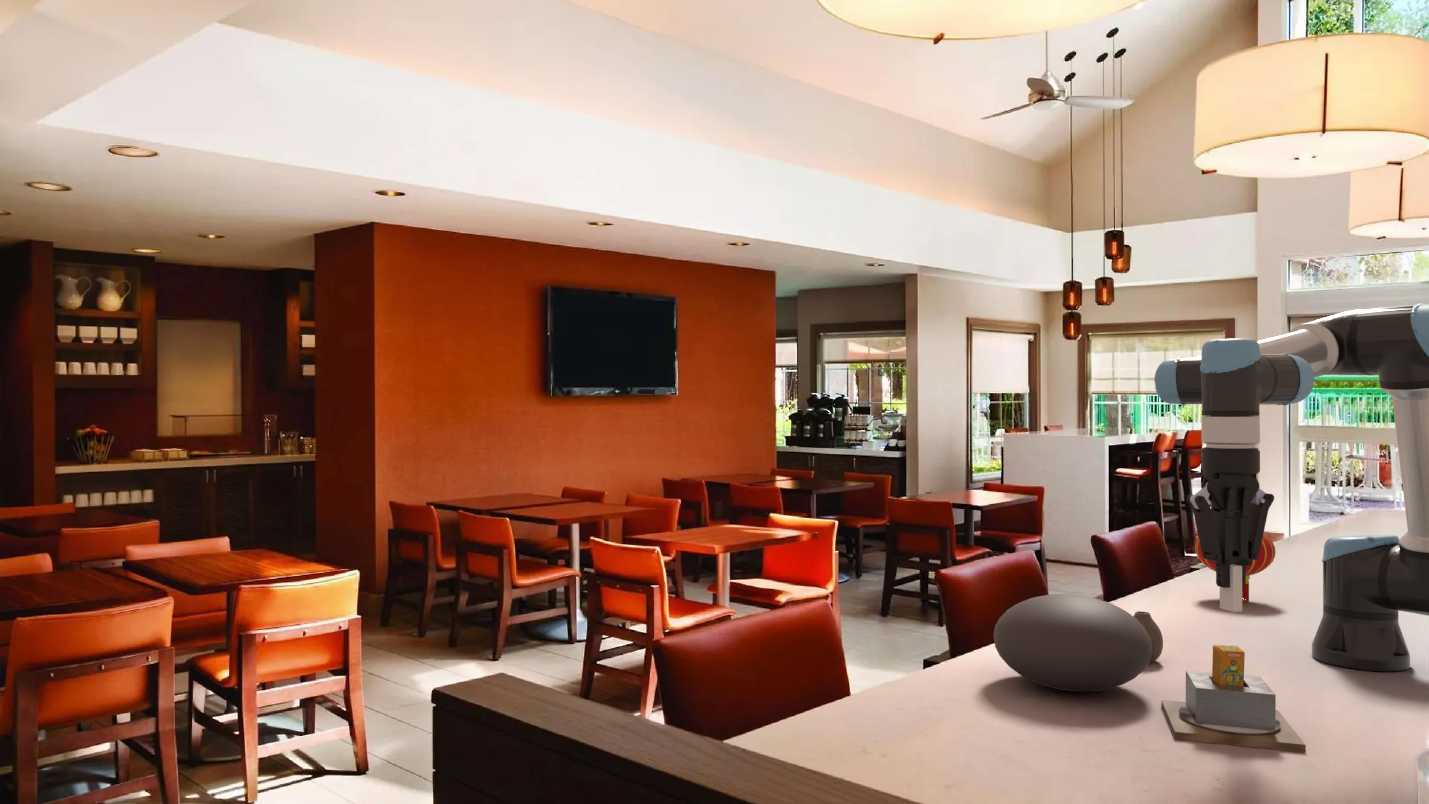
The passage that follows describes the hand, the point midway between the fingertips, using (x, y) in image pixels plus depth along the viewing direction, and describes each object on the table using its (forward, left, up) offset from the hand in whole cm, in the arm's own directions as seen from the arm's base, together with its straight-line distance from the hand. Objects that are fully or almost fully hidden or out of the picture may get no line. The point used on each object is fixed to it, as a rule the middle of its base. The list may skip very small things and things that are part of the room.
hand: (1231, 609), depth 144 cm
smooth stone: (+21, -15, -17) cm, 31 cm away
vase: (+8, -38, -17) cm, 42 cm away
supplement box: (0, 0, -16) cm, 16 cm away
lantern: (-19, -109, -17) cm, 112 cm away
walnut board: (0, 0, -17) cm, 17 cm away
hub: (0, 0, -17) cm, 17 cm away
